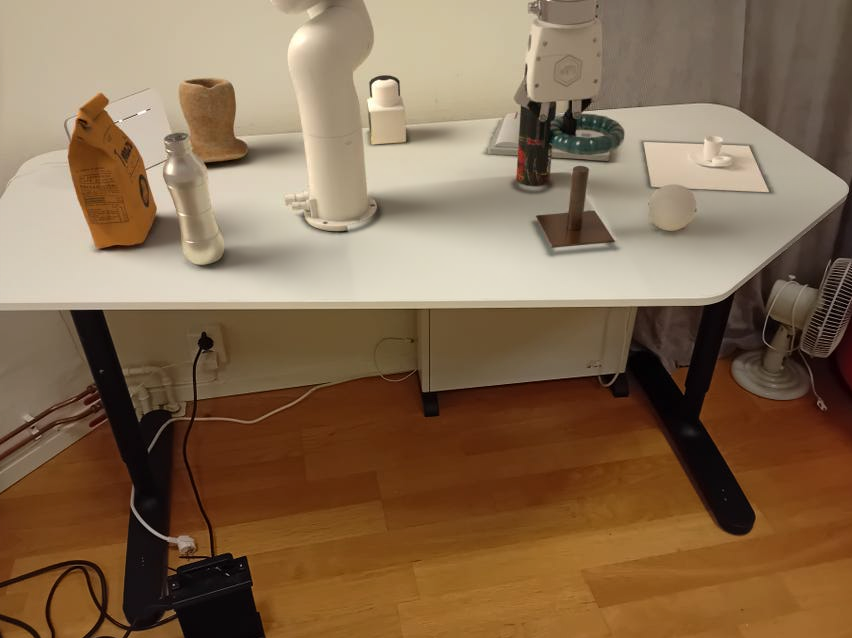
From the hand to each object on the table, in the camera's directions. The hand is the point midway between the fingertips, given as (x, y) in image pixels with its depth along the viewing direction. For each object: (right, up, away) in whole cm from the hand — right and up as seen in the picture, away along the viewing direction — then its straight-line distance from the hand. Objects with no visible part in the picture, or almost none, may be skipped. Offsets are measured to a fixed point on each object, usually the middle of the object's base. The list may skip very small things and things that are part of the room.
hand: (555, 142), depth 108 cm
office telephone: (+7, +13, +41) cm, 44 cm away
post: (+5, -12, +11) cm, 17 cm away
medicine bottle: (-26, +14, +44) cm, 53 cm away
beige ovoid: (+21, -10, +13) cm, 26 cm away
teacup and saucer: (+33, +4, +29) cm, 44 cm away
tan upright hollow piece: (-62, +9, +39) cm, 74 cm away
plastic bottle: (-54, -16, +9) cm, 57 cm away
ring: (+4, +1, 0) cm, 4 cm away
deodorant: (+1, 0, +25) cm, 25 cm away
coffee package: (-69, -11, +16) cm, 72 cm away
